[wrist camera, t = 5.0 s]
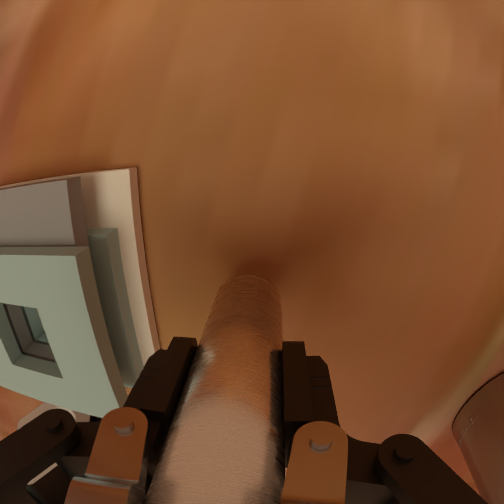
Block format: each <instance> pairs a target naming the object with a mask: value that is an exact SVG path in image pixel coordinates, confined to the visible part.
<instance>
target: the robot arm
mask: <svg viewBox="0 0 504 504" xmlns="http://www.w3.org/2000/svg"><path fill="white" fill-rule="evenodd" d="M197 348H198V346H197V340H196V338H188V337H173V339H172V341H171V343H170V345H169V347H168V349H167V350H161V349H159V350H158V351H156V352H155V353H154V354H153V355H151V356H150V357H149V358H148V360H147V362H146V364H145V366H144V367H143V370H142V371H141V373H140V375H139V378H138V379H137V381H136V382H135V384H134V386H133V388H132V390H131V392H130V394H129V396H128V398H127V400H126V402H125V404H124V406H123V407H121V408H116V409H114V410H112V411H110V412H108V413H107V414H106V415H105V416H104V417H103V418H102V420H101V421H99V422H76V421H75V419H74V417H73V415H72V414H71V413H70V412H68V411H66V410H64V409H50V410H47V411H45V412H43V413H42V414H40V415H39V416H37V417H36V418H34V419H33V420H31V421H30V422H28V423H27V424H25V425H24V426H22V427H21V428H19V429H18V430H16V431H15V432H13V433H12V434H10V435H9V436H7V437H6V438H4V439H3V440H1V441H0V504H145V501H146V497H147V494H148V491H149V488H150V485H151V482H152V479H153V476H154V473H155V470H156V467H157V464H158V461H159V458H160V455H161V452H162V449H163V446H164V443H165V440H166V437H167V434H168V431H169V428H170V425H171V422H172V419H173V416H174V413H175V410H176V408H177V405H178V402H179V399H180V396H181V393H182V390H183V387H184V385H185V382H186V379H187V376H188V373H189V370H190V367H191V365H192V362H193V359H194V356H195V353H196V350H197ZM282 392H283V438H284V441H285V467H287V473H286V477H285V482H284V486H283V491H282V495H281V499H280V501H279V504H504V373H503V374H501V375H499V376H498V377H496V378H495V379H493V380H492V381H490V382H489V383H488V384H486V385H485V386H484V387H483V388H481V389H480V390H479V391H478V392H477V393H476V394H475V395H474V396H473V397H472V398H471V399H470V400H469V401H468V402H467V403H466V405H465V406H464V407H463V408H462V409H461V411H460V412H459V414H458V415H457V417H456V419H455V421H454V423H453V428H452V431H453V435H454V437H455V439H456V441H457V443H458V445H459V447H460V450H461V452H462V454H463V456H464V458H465V461H466V463H467V465H468V468H469V470H470V472H471V475H472V477H473V479H474V482H475V484H476V486H477V489H478V491H479V494H480V496H481V497H480V496H479V495H478V494H477V493H476V492H475V491H474V490H473V489H472V488H471V487H470V486H469V485H468V484H467V483H466V482H465V481H463V480H462V479H461V478H460V477H459V476H458V475H457V474H456V473H455V472H454V471H453V470H452V469H451V468H450V467H449V466H448V465H447V464H446V463H445V462H443V461H442V460H441V459H440V458H439V457H438V456H437V455H436V454H435V453H434V452H433V451H432V450H431V449H430V448H429V447H428V446H427V445H426V444H425V443H424V442H423V441H421V440H420V439H419V438H417V437H415V436H412V435H408V434H397V435H393V436H391V437H388V438H387V439H386V440H384V441H383V442H382V444H376V443H369V442H363V441H359V440H356V439H354V438H352V437H350V436H349V435H347V434H346V433H345V431H344V430H343V429H342V428H341V427H340V425H339V421H338V416H337V411H336V405H335V400H334V395H333V390H332V385H331V380H330V375H329V370H328V365H327V364H326V363H325V362H324V361H323V360H322V358H321V357H320V356H306V352H305V344H304V341H282ZM54 463H56V464H57V466H56V467H55V468H53V469H52V470H51V471H49V472H48V473H47V474H45V475H44V476H43V477H41V478H40V479H39V480H37V481H36V482H35V483H33V484H30V485H27V484H28V483H29V482H30V481H31V480H32V479H34V478H35V477H36V476H38V475H39V474H41V473H42V472H43V471H45V470H46V469H47V468H49V467H50V466H51V465H53V464H54Z"/></svg>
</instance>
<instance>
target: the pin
mask: <svg viewBox="0 0 504 504" xmlns="http://www.w3.org/2000/svg"><path fill="white" fill-rule="evenodd" d="M282 341H283V336H282V309H281V298H280V295H279V293H278V291H277V289H276V288H275V287H274V286H273V285H272V284H271V283H270V282H269V281H267V280H266V279H264V278H262V277H259V276H256V275H248V274H247V275H238V276H235V277H233V278H231V279H229V280H227V281H226V282H225V283H224V284H223V285H222V286H221V287H220V289H219V290H218V292H217V295H216V298H215V300H214V303H213V306H212V309H211V311H210V314H209V317H208V320H207V322H206V325H205V328H204V331H203V334H202V336H201V339H200V342H199V345H198V348H197V350H196V353H195V356H194V359H193V362H192V365H191V367H190V370H189V373H188V376H187V379H186V382H185V385H184V387H183V390H182V393H181V396H180V399H179V402H178V405H177V408H176V410H175V413H174V416H173V419H172V422H171V425H170V428H169V431H168V434H167V437H166V440H165V443H164V446H163V449H162V452H161V455H160V458H159V461H158V464H157V467H156V470H155V473H154V476H153V479H152V482H151V485H150V488H149V491H148V494H147V497H146V501H145V504H279V501H280V499H281V495H282V491H283V486H284V482H285V441H284V438H283V392H282Z"/></svg>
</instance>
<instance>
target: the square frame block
mask: <svg viewBox="0 0 504 504" xmlns="http://www.w3.org/2000/svg"><path fill="white" fill-rule="evenodd" d="M159 349H160V344H159V339H158V334H157V328H156V323H155V317H154V312H153V306H152V300H151V294H150V287H149V280H148V274H147V266H146V259H145V251H144V243H143V234H142V225H141V215H140V204H139V192H138V178H137V167H133V168H122V169H112V170H103V171H94V172H86V173H78V174H70V175H63V176H56V177H50V178H43V179H37V180H31V181H25V182H20V183H14V184H9V185H4V186H0V386H2V387H5V388H7V389H10V390H12V391H15V392H18V393H20V394H23V395H26V396H29V397H31V398H34V399H37V400H40V401H43V402H46V403H49V404H53V405H56V406H59V407H63V408H66V409H69V410H73V411H77V412H80V413H84V414H88V415H92V416H96V417H100V418H103V417H104V416H105V415H106V414H107V413H108V412H110V411H112V410H114V409H116V408H121V407H123V406H124V404H125V402H126V400H127V398H128V396H127V393H126V390H125V387H129V388H133V386H134V384H135V382H136V381H137V379H138V378H139V375H140V373H141V371H142V370H143V367H144V366H145V364H146V362H147V360H148V358H149V357H150V356H151V355H153V354H154V353H155V352H156V351H158V350H159Z"/></svg>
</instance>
